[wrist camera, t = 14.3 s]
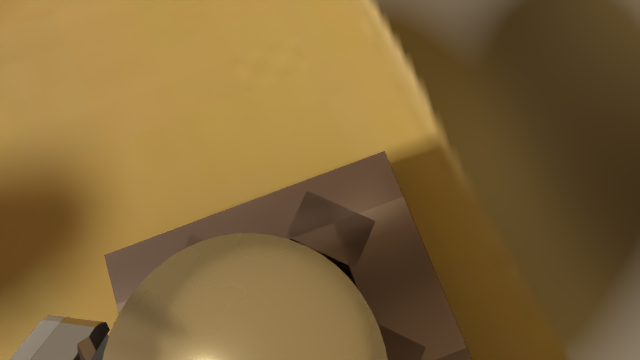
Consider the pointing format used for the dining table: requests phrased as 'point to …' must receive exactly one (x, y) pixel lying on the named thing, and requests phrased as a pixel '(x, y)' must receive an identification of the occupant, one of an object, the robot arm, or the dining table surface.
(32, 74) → the dining table surface
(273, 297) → the knob
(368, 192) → the jig
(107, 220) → the dining table surface
